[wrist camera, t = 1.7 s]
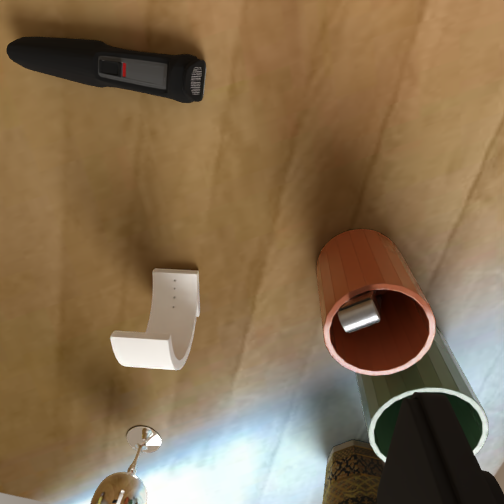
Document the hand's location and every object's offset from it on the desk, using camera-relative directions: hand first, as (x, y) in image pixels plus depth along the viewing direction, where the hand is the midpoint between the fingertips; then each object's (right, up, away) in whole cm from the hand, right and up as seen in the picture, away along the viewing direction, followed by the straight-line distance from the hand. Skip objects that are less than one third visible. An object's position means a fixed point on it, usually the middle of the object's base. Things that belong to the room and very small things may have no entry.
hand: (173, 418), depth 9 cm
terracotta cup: (+12, +2, +33) cm, 36 cm away
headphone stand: (-6, -1, +37) cm, 37 cm away
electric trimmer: (-10, +19, +28) cm, 35 cm away
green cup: (+17, -7, +37) cm, 41 cm away
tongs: (+11, +3, +32) cm, 34 cm away
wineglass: (-12, -20, +46) cm, 51 cm away
